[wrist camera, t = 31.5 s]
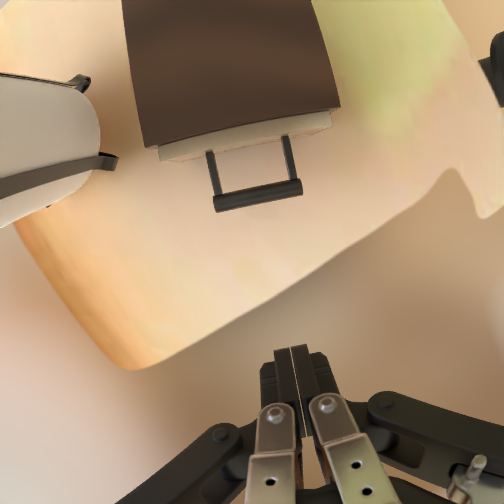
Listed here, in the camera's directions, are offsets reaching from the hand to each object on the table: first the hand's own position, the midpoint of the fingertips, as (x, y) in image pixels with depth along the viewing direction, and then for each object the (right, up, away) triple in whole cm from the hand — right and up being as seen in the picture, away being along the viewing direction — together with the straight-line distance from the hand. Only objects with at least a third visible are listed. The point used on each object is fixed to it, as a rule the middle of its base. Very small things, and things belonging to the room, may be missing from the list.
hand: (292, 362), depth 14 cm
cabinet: (-4, +24, +13) cm, 28 cm away
